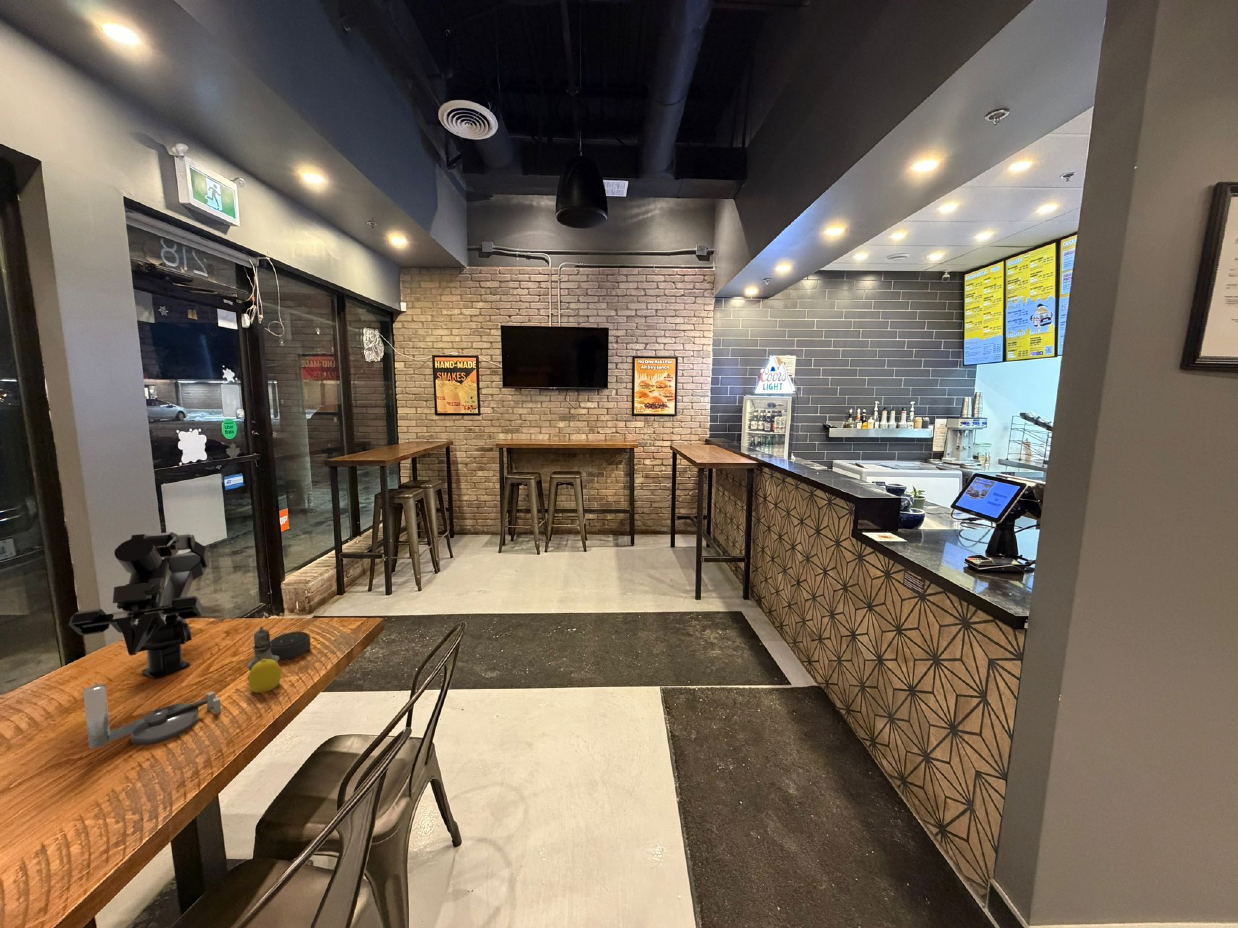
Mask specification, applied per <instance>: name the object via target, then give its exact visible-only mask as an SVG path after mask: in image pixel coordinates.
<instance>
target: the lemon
mask: <svg viewBox="0 0 1238 928" xmlns="http://www.w3.org/2000/svg"><path fill="white" fill-rule="evenodd" d="M281 676H282V670H281V667H280V665H279V662H278V663H277V662H276V661H274V660H272V659H262V660H261V661H259V662H258V663H256V664H255V665H254V666H253V667H252V669H251V671H250V670H249V674H248V685H249V688H250V690H251V691H252V692H253V693H255V694H263V693H267V692H270V691H272V690H274V689H275V688H277V686H278V684H279V683H280V682H281V679H282V677H281Z"/></svg>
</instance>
